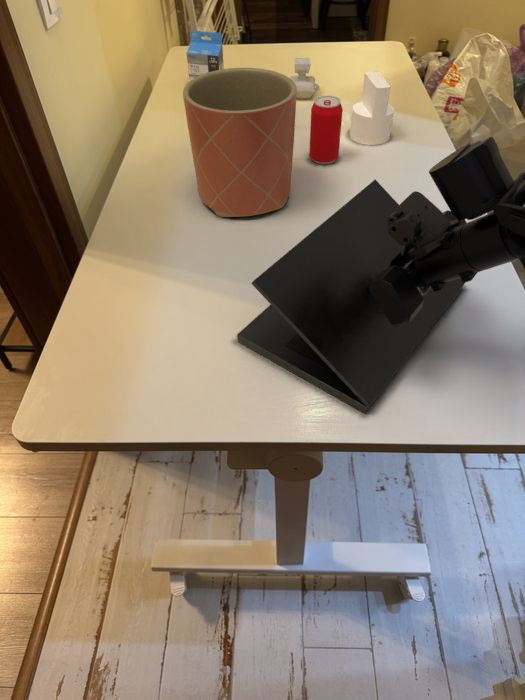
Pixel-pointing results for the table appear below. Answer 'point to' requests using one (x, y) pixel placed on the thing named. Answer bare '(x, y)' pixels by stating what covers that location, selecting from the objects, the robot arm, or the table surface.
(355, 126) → the cylinder with rectangular tab
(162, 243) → the table surface
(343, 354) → the laptop screen
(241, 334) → the laptop
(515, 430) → the table surface
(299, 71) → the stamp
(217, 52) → the ink cartridge box
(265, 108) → the planter
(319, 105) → the beverage can
